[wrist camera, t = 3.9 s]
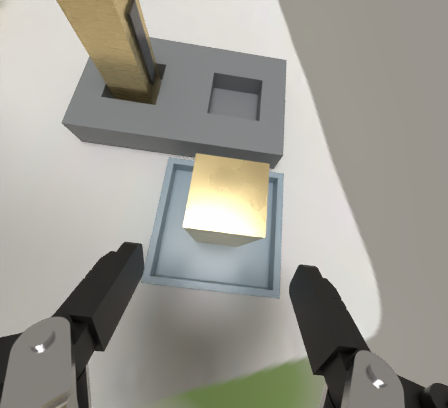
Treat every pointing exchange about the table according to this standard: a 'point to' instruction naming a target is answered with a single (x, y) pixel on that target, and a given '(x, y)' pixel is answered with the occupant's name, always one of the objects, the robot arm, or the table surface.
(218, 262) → the light blue tray
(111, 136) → the grey slotted fixture block
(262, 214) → the brass billet
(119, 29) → the seated billet
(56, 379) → the robot arm
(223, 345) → the table surface
